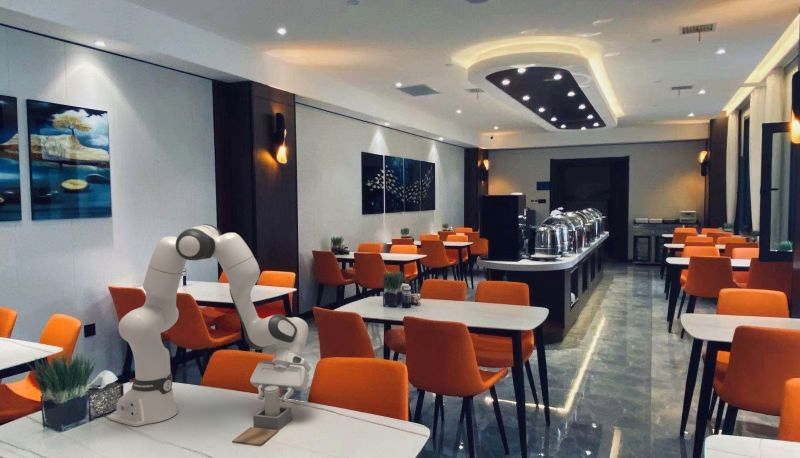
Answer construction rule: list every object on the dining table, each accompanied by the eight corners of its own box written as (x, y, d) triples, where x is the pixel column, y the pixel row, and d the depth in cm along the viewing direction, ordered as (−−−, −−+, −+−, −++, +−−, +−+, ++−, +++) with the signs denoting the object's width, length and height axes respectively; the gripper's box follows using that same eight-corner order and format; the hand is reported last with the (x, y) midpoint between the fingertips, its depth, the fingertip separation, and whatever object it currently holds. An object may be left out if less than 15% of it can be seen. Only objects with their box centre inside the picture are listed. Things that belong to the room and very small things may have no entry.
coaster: (232, 442, 163) (232, 440, 163) (250, 428, 173) (250, 427, 173) (260, 446, 160) (260, 444, 160) (278, 432, 170) (277, 430, 170)
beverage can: (276, 427, 174) (275, 390, 173) (263, 426, 175) (261, 390, 174) (282, 420, 178) (281, 385, 178) (269, 420, 179) (268, 385, 179)
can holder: (253, 427, 174) (253, 415, 173) (268, 416, 182) (267, 405, 182) (278, 430, 171) (277, 418, 171) (291, 419, 180) (291, 407, 179)
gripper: (255, 355, 186) (240, 393, 177) (308, 359, 180) (295, 398, 171) (262, 364, 190) (248, 401, 181) (315, 368, 184) (302, 406, 175)
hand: (271, 400), depth 176 cm, fingers open, 7 cm apart
